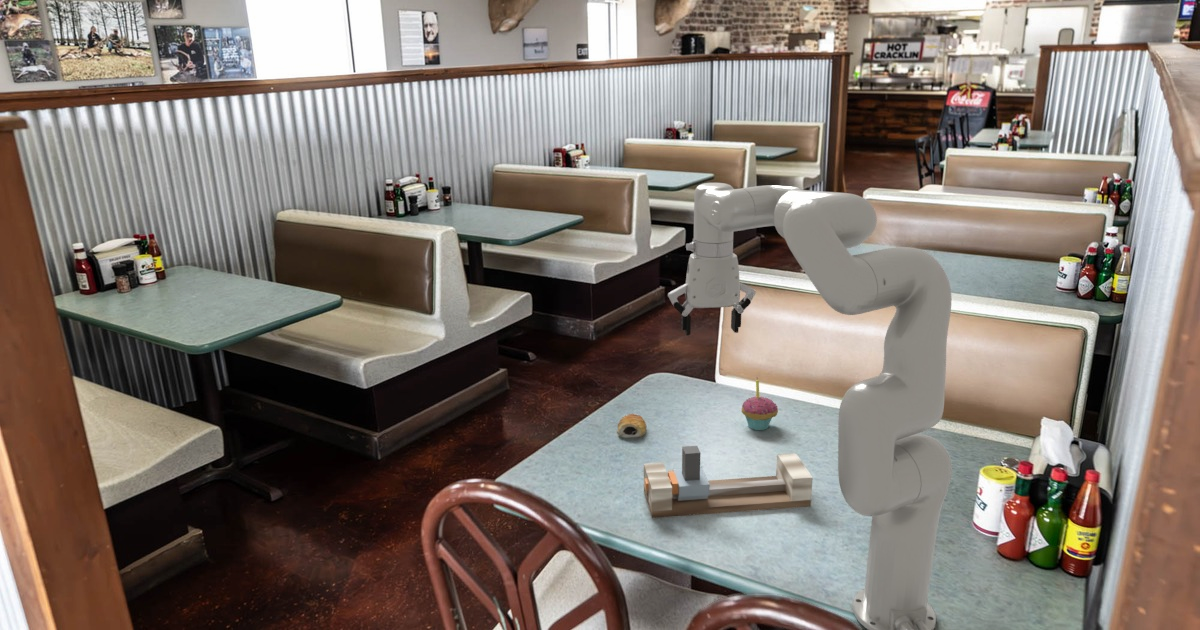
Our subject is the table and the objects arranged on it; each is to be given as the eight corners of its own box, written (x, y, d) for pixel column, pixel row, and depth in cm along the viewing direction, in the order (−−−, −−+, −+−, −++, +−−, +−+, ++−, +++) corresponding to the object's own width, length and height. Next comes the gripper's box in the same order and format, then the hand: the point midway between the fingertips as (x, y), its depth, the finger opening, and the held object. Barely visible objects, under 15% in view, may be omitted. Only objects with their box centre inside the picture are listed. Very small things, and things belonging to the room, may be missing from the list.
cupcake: (734, 421, 200) (736, 375, 196) (766, 416, 202) (768, 371, 198) (751, 436, 192) (753, 389, 188) (783, 430, 194) (786, 384, 190)
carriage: (709, 501, 162) (710, 457, 159) (679, 504, 161) (679, 459, 158) (701, 483, 169) (702, 440, 165) (672, 485, 168) (673, 442, 165)
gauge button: (678, 494, 162) (678, 483, 161) (647, 496, 161) (647, 485, 160) (673, 481, 167) (673, 470, 166) (643, 483, 166) (643, 473, 165)
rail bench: (810, 506, 163) (812, 477, 161) (651, 518, 160) (651, 489, 158) (794, 480, 172) (795, 453, 170) (643, 491, 169) (643, 463, 167)
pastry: (621, 420, 201) (621, 406, 200) (648, 422, 201) (648, 408, 199) (616, 438, 193) (616, 423, 191) (644, 440, 192) (645, 425, 191)
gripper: (672, 255, 153) (671, 340, 159) (762, 251, 155) (758, 336, 160) (665, 245, 160) (664, 327, 166) (751, 241, 162) (748, 323, 167)
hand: (710, 331), depth 163 cm, fingers open, 9 cm apart
